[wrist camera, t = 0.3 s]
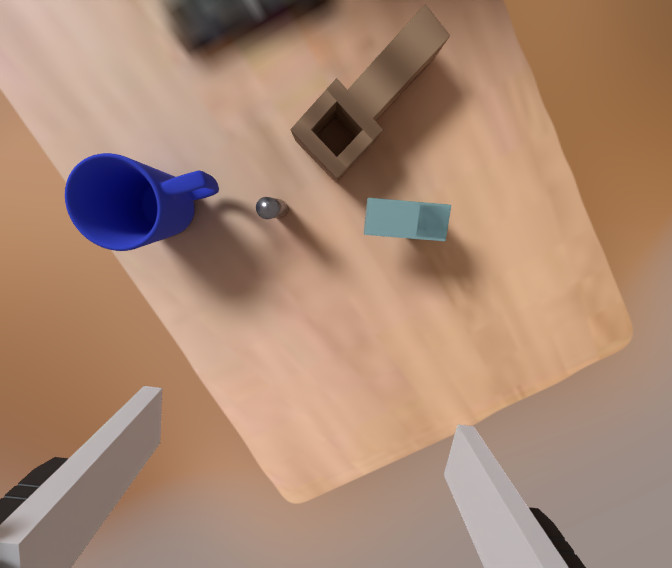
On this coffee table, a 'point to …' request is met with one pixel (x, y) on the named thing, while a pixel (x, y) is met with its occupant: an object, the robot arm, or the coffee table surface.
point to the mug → (131, 201)
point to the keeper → (406, 219)
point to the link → (370, 94)
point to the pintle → (271, 208)
